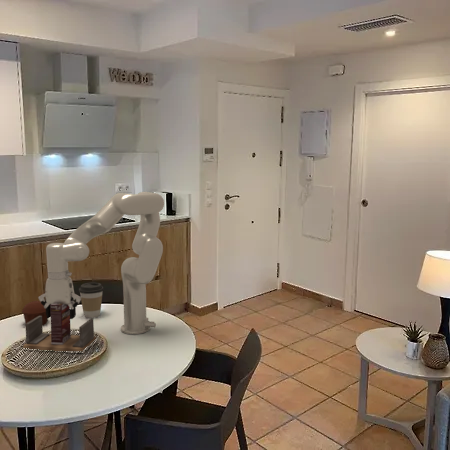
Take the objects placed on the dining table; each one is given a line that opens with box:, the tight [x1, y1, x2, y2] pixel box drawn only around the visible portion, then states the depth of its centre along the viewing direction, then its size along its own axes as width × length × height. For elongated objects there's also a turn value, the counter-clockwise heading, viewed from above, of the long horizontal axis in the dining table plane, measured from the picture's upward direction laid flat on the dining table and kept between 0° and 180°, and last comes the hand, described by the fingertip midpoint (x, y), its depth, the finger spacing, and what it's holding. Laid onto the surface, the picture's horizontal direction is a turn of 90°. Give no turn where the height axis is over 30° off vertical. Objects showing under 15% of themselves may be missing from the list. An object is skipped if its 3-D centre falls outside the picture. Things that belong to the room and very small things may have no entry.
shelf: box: [23, 316, 98, 351], centre depth 186 cm, size 24×13×10 cm, turn 82°
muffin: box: [21, 300, 49, 327], centre depth 211 cm, size 12×11×10 cm
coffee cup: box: [78, 282, 105, 319], centre depth 221 cm, size 11×11×15 cm
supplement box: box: [50, 303, 72, 345], centre depth 186 cm, size 9×5×16 cm, turn 177°
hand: (61, 317), depth 186 cm, fingers open, 9 cm apart
